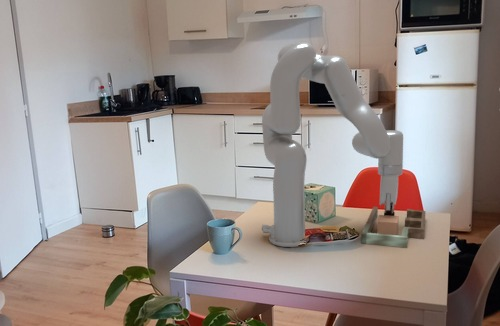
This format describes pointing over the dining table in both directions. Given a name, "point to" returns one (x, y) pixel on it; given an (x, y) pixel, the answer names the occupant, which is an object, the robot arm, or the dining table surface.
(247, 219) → the dining table surface
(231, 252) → the dining table surface
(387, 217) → the block
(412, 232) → the box
